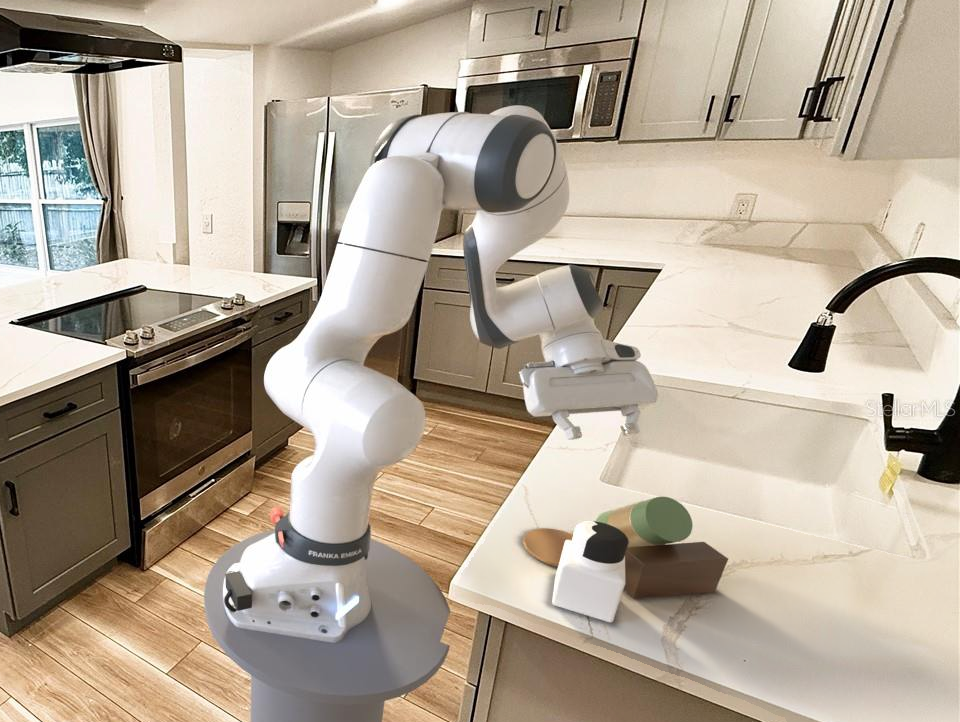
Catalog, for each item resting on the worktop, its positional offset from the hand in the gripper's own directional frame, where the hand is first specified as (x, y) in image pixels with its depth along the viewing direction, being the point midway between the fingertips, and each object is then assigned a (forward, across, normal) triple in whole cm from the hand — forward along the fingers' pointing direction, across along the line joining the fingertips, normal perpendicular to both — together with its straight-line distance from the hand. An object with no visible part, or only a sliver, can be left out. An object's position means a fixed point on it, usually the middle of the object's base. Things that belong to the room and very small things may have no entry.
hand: (603, 436), depth 99 cm
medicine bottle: (+25, -13, -2) cm, 28 cm away
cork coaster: (+17, -9, +6) cm, 20 cm away
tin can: (+19, 0, +3) cm, 19 cm away
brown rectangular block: (+20, 0, +2) cm, 20 cm away
